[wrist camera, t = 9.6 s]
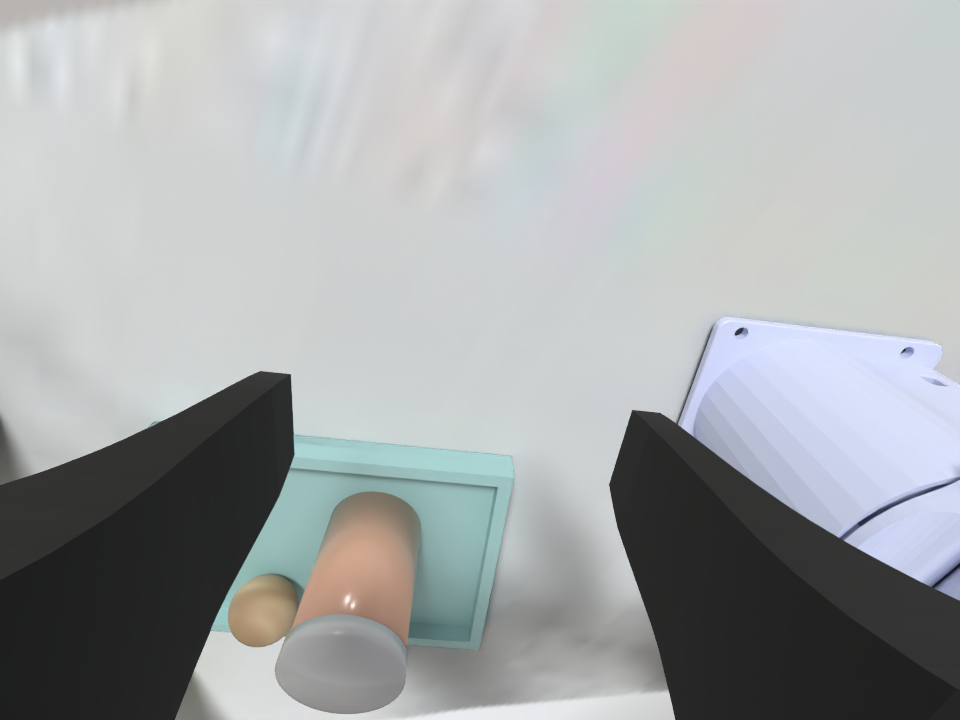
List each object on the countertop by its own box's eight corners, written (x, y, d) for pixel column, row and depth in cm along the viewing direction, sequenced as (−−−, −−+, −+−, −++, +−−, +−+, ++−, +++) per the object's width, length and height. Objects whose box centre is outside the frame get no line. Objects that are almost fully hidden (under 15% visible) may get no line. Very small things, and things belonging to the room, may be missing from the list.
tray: (511, 456, 23) (513, 477, 22) (479, 624, 29) (479, 650, 27) (153, 421, 22) (133, 441, 21) (189, 603, 28) (175, 628, 26)
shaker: (428, 496, 24) (411, 642, 17) (417, 565, 26) (398, 719, 19) (329, 484, 23) (274, 629, 17) (326, 554, 25) (275, 708, 19)
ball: (306, 562, 26) (284, 620, 23) (307, 605, 27) (288, 664, 24) (241, 557, 25) (211, 615, 22) (246, 600, 27) (219, 659, 24)
